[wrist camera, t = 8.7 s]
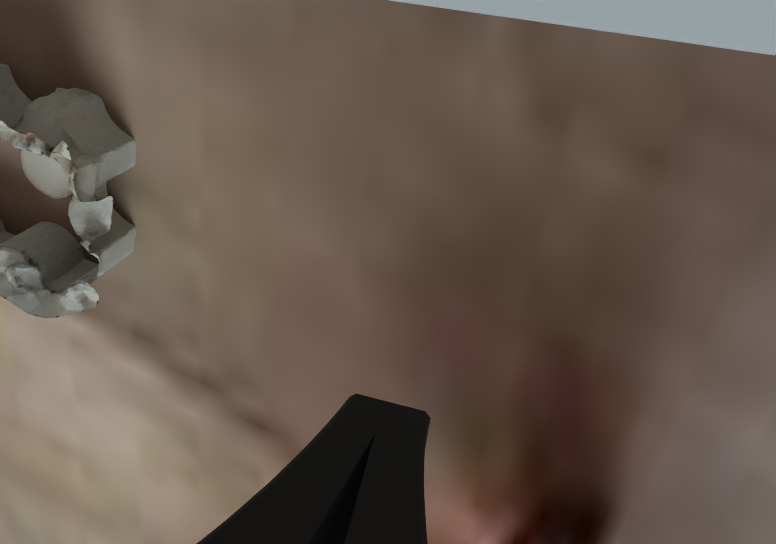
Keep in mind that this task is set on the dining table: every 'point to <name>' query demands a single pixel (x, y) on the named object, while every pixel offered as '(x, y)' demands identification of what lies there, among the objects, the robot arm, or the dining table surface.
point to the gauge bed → (646, 18)
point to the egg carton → (59, 180)
